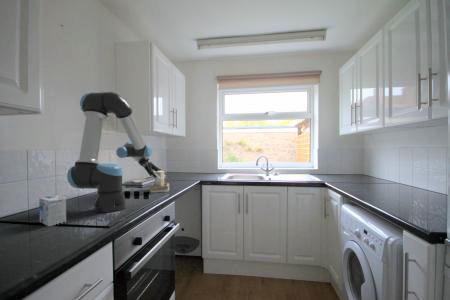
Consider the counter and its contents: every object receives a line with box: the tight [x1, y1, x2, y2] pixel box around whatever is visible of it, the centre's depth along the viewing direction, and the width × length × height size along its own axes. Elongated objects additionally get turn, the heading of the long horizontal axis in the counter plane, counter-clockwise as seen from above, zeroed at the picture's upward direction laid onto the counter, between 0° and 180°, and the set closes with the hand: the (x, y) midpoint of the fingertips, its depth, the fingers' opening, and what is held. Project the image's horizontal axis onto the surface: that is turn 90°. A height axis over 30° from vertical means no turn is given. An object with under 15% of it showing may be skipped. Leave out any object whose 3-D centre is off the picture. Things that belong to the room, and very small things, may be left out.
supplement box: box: [154, 170, 165, 186], centre depth 170 cm, size 8×5×13 cm, turn 179°
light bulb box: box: [38, 194, 67, 227], centre depth 101 cm, size 11×7×11 cm, turn 55°
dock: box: [149, 182, 170, 194], centre depth 170 cm, size 12×12×4 cm
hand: (162, 179), depth 170 cm, fingers open, 13 cm apart
